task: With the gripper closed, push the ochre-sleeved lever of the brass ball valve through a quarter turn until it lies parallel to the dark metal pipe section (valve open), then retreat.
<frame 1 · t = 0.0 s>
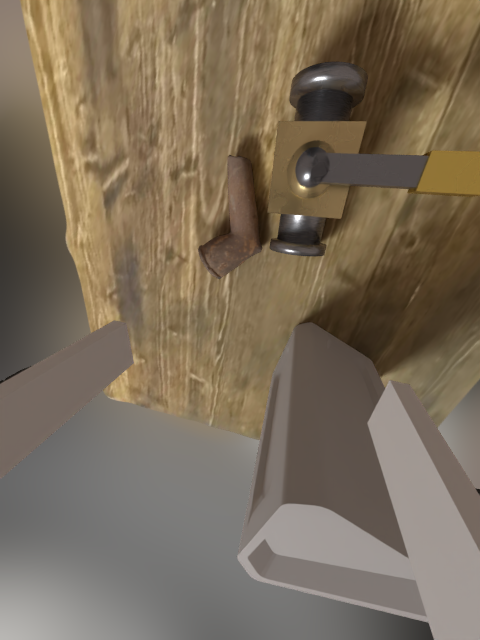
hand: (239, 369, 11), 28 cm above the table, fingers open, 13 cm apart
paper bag: (313, 356, 41), on the table
valve body: (309, 183, 30), on the table
lever: (383, 171, 19), point 11 cm above the table, hinge at 90.0°
pipe: (232, 223, 35), on the table
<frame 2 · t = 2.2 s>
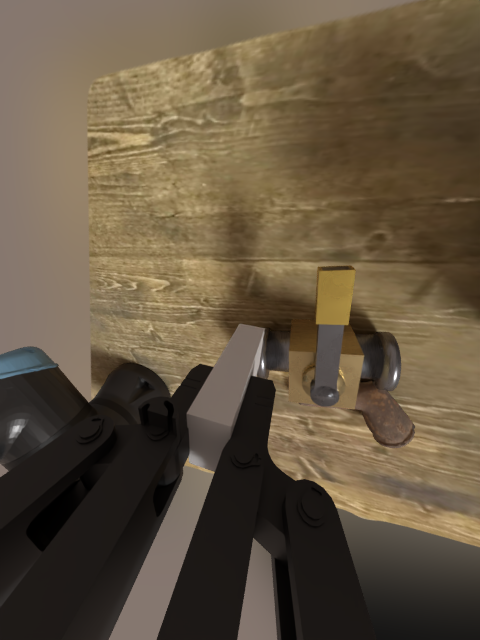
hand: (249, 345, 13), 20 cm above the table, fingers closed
valve body: (317, 342, 34), on the table
lever: (328, 344, 22), point 11 cm above the table, hinge at 90.0°
pipe: (348, 397, 37), on the table
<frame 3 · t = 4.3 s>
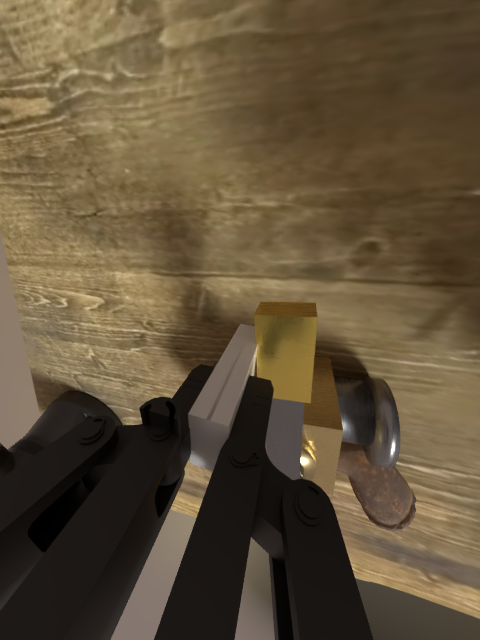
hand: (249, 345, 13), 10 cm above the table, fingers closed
valve body: (291, 382, 26), on the table
lever: (284, 421, 14), point 11 cm above the table, hinge at 89.4°, touching gripper
pipe: (332, 448, 29), on the table
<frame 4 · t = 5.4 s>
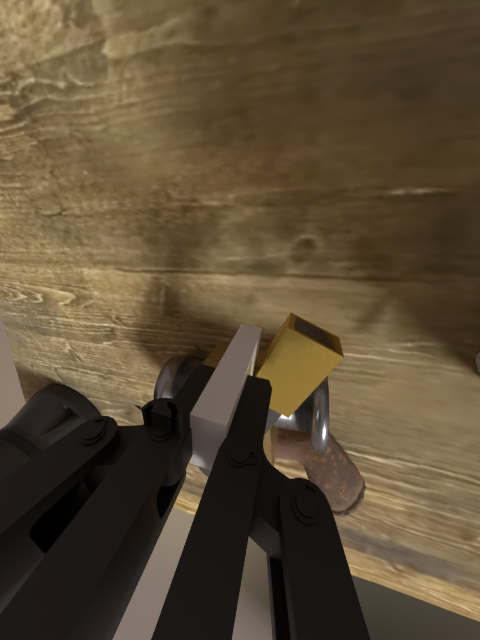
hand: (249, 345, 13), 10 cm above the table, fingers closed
valve body: (249, 374, 27), on the table
lever: (250, 419, 14), point 11 cm above the table, hinge at 61.1°, touching gripper
pipe: (293, 439, 30), on the table
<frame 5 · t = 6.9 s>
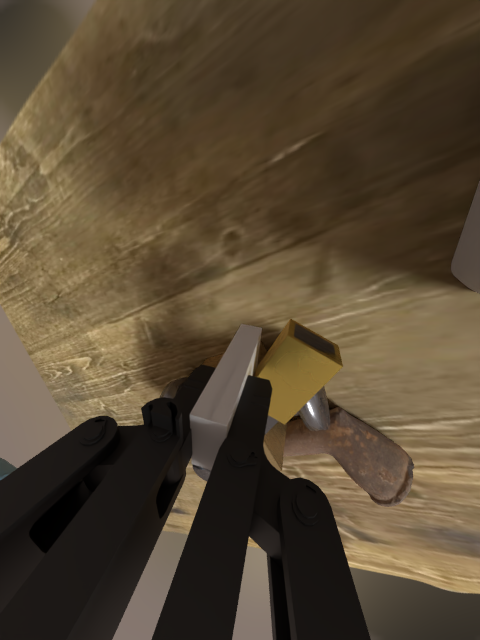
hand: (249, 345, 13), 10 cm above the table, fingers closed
valve body: (247, 376, 27), on the table
lever: (246, 423, 14), point 11 cm above the table, hinge at 36.0°, touching gripper
pipe: (322, 433, 28), on the table
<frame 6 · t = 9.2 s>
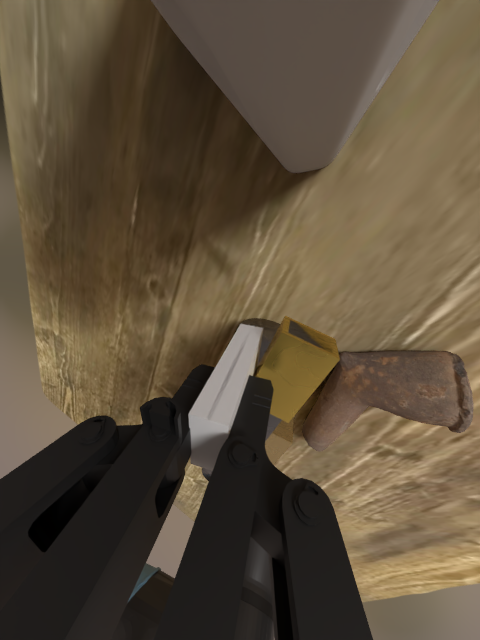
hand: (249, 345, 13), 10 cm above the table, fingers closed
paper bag: (310, 32, 14), on the table
valve body: (252, 378, 27), on the table
lever: (251, 424, 14), point 11 cm above the table, hinge at -0.9°, touching gripper
pipe: (364, 390, 24), on the table
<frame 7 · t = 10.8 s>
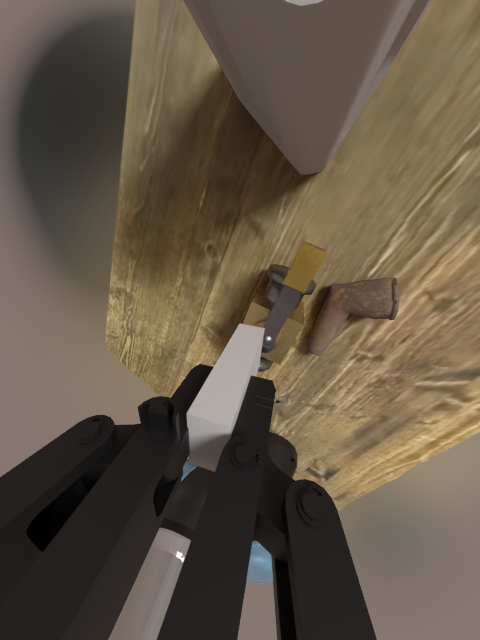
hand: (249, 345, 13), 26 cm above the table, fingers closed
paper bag: (312, 104, 27), on the table
valve body: (273, 311, 40), on the table
lever: (283, 304, 27), point 11 cm above the table, hinge at -1.0°
pipe: (346, 314, 37), on the table
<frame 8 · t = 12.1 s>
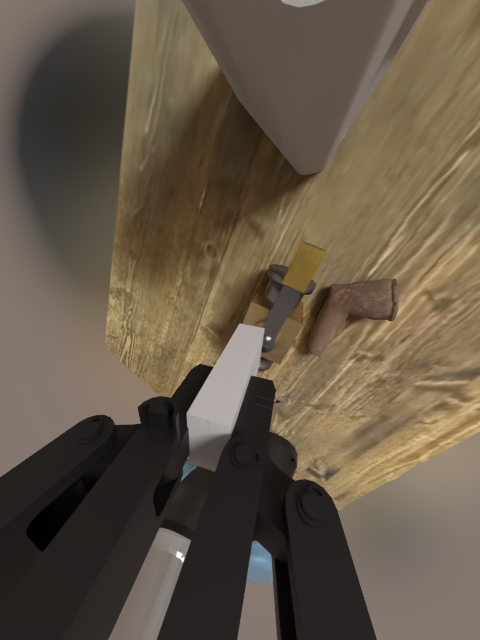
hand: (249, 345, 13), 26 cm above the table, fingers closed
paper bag: (311, 105, 27), on the table
valve body: (273, 311, 40), on the table
lever: (283, 304, 28), point 11 cm above the table, hinge at -1.0°
pipe: (346, 314, 37), on the table
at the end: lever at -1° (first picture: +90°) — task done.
